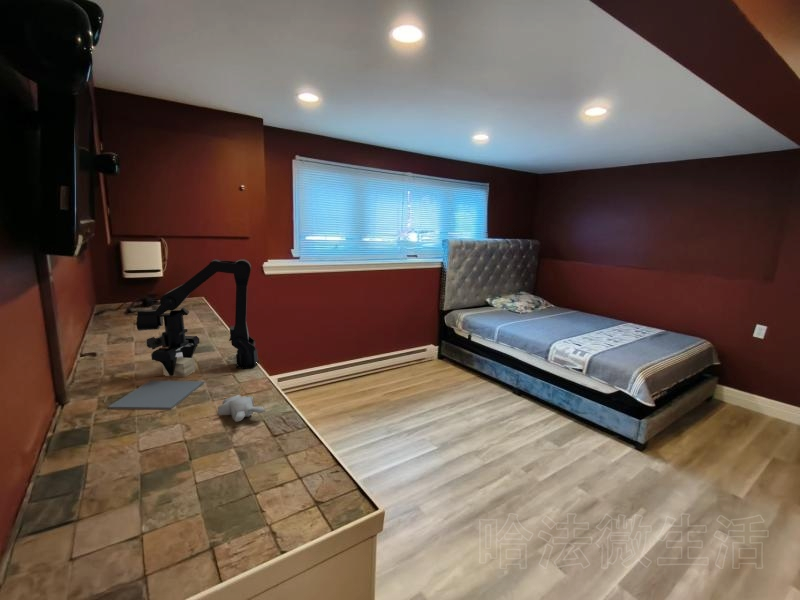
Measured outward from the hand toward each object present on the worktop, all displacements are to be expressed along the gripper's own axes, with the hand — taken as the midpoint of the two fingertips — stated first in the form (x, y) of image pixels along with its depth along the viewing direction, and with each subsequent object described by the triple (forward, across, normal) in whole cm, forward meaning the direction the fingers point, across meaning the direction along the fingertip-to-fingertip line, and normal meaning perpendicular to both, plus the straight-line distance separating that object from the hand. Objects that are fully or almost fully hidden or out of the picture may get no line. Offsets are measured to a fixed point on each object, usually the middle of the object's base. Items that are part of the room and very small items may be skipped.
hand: (179, 370), depth 129 cm
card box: (+1, 0, 0) cm, 1 cm away
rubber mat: (+1, +17, +4) cm, 17 cm away
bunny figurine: (+1, +29, +34) cm, 45 cm away
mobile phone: (+2, -20, -12) cm, 23 cm away
